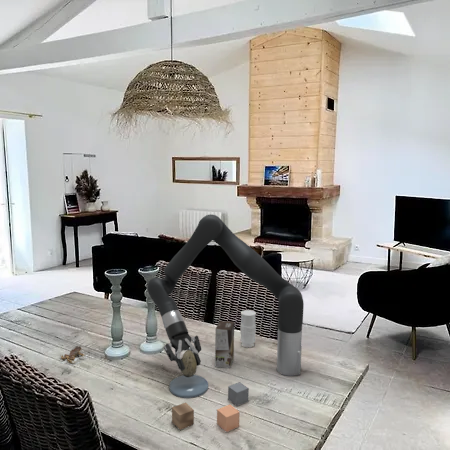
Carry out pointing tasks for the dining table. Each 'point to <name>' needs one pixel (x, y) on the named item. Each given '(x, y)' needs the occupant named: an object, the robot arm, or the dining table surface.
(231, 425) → the terracotta block
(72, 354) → the frog figurine
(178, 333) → the robot arm
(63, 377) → the dining table surface
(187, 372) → the decorative egg
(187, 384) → the round blue platter
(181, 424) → the walnut block
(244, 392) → the charcoal block
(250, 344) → the candle
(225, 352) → the coffee box
